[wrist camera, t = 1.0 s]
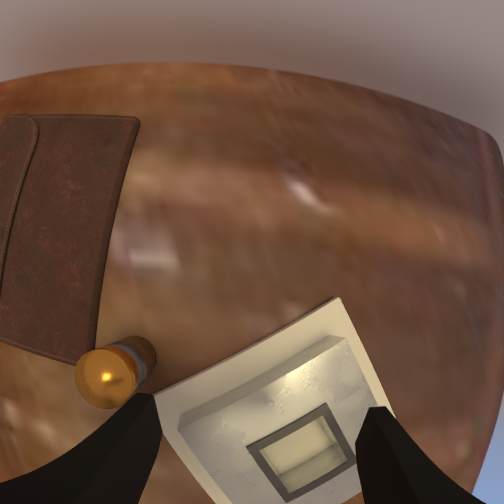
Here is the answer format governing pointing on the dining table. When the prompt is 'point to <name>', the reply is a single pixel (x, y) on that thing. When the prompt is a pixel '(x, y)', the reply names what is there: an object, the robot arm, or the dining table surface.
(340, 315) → the stand base
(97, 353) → the orange topped can
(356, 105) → the dining table surface
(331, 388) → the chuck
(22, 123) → the notebook
